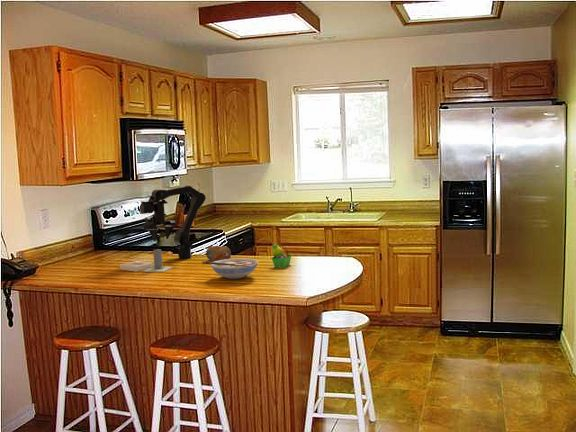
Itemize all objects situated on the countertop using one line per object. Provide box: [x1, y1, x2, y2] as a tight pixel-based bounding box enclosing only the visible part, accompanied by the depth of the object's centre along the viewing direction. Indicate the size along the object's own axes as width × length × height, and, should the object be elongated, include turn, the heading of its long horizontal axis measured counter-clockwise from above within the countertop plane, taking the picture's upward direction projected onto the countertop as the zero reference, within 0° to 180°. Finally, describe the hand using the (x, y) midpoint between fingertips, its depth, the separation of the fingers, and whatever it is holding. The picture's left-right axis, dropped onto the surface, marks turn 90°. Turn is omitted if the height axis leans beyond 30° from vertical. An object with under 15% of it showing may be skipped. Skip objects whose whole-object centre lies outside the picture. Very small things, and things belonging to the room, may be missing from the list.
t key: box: [152, 248, 166, 269], centre depth 325 cm, size 3×6×10 cm, turn 75°
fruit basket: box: [271, 244, 292, 269], centre depth 322 cm, size 11×9×11 cm
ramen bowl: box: [202, 257, 259, 280], centre depth 298 cm, size 25×23×8 cm
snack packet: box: [205, 245, 232, 262], centre depth 344 cm, size 15×3×8 cm, turn 62°
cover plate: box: [119, 260, 154, 272], centre depth 332 cm, size 12×13×2 cm
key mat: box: [143, 266, 174, 273], centre depth 325 cm, size 11×11×1 cm
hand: (161, 240), depth 348 cm, fingers open, 9 cm apart
